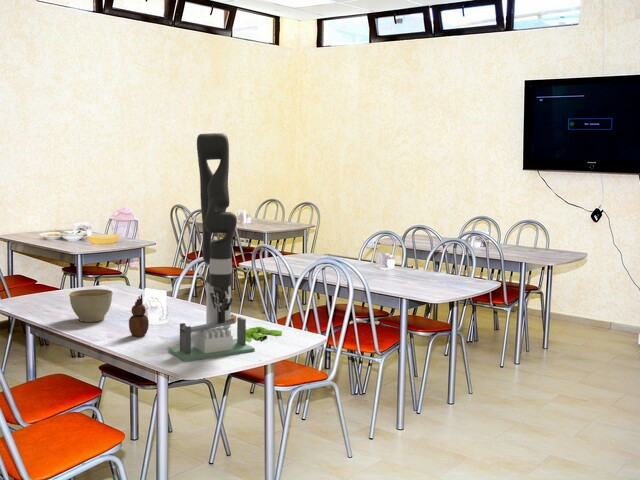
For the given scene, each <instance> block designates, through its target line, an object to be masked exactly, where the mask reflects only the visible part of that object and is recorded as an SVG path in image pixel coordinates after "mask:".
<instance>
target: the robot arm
mask: <svg viewBox="0 0 640 480" xmlns="http://www.w3.org/2000/svg"><path fill="white" fill-rule="evenodd" d="M196 151H197V152H196V153H197V161H198V169H199V184H200V185H199V187H200V188H199V189H200V208H201V209H200V211H201V220H202V259H203V263H204V264H206V265H209V273H208V274H207V275H206V305H205V306H206V313H205V314H206V315H205V316H206V317H205V318H206V322H205V324H209V323H214V322H219V323H224V322H225V320H228V319H231V316H230V315H231V314H232V312H231V311H232V305H231V304H232V303H233V297H232V285H233V262H232V258H233V257H232V255H233V247H232V246H233V245H232V244H233V239H234V234H235V231H236V228H237V224H238V223H237V222H238V221H237V216H236V214H235V213H234V212H232V211H227V209H228V208H229V206H230V194H229V193H230V192H229V172H230V170H229V169H230V144H229V138H228V136H227V134H226V133H222V132H217V133H216V132H215V133H213V132H211V133H199V134H198V135H197V138H196ZM211 160H212V161H213V160H220V161H219V164H218V167H217V169H216V170H215V172H214V173H213V172H212V170H211V168H210V166H209V163H208V161H211ZM213 234H225V235H224V236H223V237H222V238H219V239H212V237H213V236H212V235H213ZM231 325H232V324H230V325H225V326H223V327H225V328H227V329H229V328H230V327H231Z"/></svg>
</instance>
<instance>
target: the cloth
mask: <svg viewBox="0 0 640 480" xmlns="http://www.w3.org/2000/svg"><path fill="white" fill-rule="evenodd" d="M282 333H283V330H278V329H276V330H275V329H268V328H265V327H262V326H255V327H250V328H246V343H247V342H248V343H252V340H254V341H260V342H263V341H265V340H268V336H275V337H282Z"/></svg>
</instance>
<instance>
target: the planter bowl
mask: <svg viewBox="0 0 640 480" xmlns="http://www.w3.org/2000/svg"><path fill="white" fill-rule="evenodd" d="M68 296H69V301H70V305H71V309H72V310H73V312H74V314H75V315H76V316H77V318H78V321H79V320H80V321H79V322H83V321H84V323H85V322H86V323H95V322H100V321H103V320H105V316H106V315H107V313H108V312H109V310H110V308H111V305H112V301H113V290H109V289H103V288H101V289H100V288H90V289H89V288H88V289H80V290H79V289H78V290H73V291H71V292H69V294H68Z"/></svg>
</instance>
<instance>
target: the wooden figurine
mask: <svg viewBox="0 0 640 480" xmlns="http://www.w3.org/2000/svg"><path fill="white" fill-rule="evenodd" d="M131 314H132V315H131V316H130V317H129V319H128V328H129V332H130V334H131V336H133V337H143V336H145V335H146V334H147V332H148V331H149V330H148V329H149V326H150V325H149V318H148V316H147V315H146V306H145V305H144V302H143V293H141V294H140V295H138V298H137V299H136V301H135V302H134V305H133V306H132V307H131Z"/></svg>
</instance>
